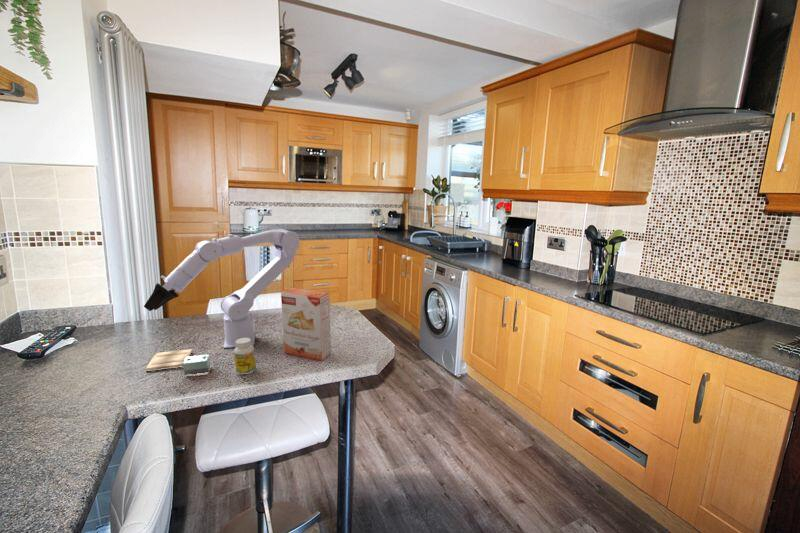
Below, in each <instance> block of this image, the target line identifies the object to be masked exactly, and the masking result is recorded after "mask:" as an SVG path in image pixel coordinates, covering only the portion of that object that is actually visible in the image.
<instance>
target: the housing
mask: <svg viewBox="0 0 800 533" xmlns="http://www.w3.org/2000/svg"><path fill="white" fill-rule="evenodd" d="M210 366H212V365H211V357H210V354H209V353H207V354H206V353H205V354H199V355H191V356H188V357H186V358H185V361H184V363H183V367H184V368H183V375H184V376H185V375H187V374H197V373H205V372H209V373H210V371H209V369H210V370H211V368H210Z"/></svg>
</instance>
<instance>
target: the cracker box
mask: <svg viewBox="0 0 800 533" xmlns="http://www.w3.org/2000/svg"><path fill="white" fill-rule="evenodd" d="M280 295H281V296H280V298H281V299H280V300H281V301H280V302H281V312H282V313H281V315H282V316H281V317H282V331H283V348H284V349H283V350H284V354H287V355H293V356H297V357H302V358H307V359H311V360H315V361H320V362H322V361H323V360H325V359H326V358H327V357H328V356H330V354H331V353H332V350H331V349H332V345H331V312H330V310H331V309H330V308H331V306H330V293H329V292H325V291H318V290H313V289H306V288H305V289H304V288H299V287H290V288H287V289H284V290H283V291H281V292H280Z"/></svg>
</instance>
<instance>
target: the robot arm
mask: <svg viewBox="0 0 800 533" xmlns="http://www.w3.org/2000/svg"><path fill="white" fill-rule="evenodd" d="M267 243H269V244H273V247H274V250H275V256H274V258H273V259H271V260H270V262H269V263H267V264H266V265H265V266H264V267H263V268H262V269H261V270H260V271H259V272H258V273H257V274H256V275H254V277H252V279H250V281H248V283H246V284H245V285H244V286H243V287H242V288H241V289H238V290H235V291H234V292H233V293H231V294H230V295H227V296H225V297H223V299H221V302H220V308H221V311H222V312H223V313H224V315H223V329H224V336H225V337H224V338H225V339H224V343H223V346H222V347H223V349H230V348H231V349H232V348H236V340H238V339H240V338H250V340H251V345H252V346H254V345H255V341H256V328H255V318H254V316H253V315H248V314H249V311H250V310H251V308H252V307H253V306H254V301H255V299H256V298H257V297H258V296H259V295H260V294H261V293H262V292H264V290H265V289H266V288H267V287H269V285H270V284H272V283H273V282H274V280H276V279H277V278H278V277H279V276H280V275H281V274H282V273H283V272H284V271H285V270H286V269H287V268H288V267H289V266H290V265H291V264H292V262H293V261H294V258H295V255H296V252H297V250H298V249H299V248H301V247H300V246H301V245H300V236H299V235H298V233H297V232H295V231H292V230H287V229H285V228H280V227H279V228H275V229H273V228H272V229H269V230H264V231H261V232H257V233H254V234H249V235H247V236H246V235H245V236H242V237H240V236H239V235H236V234H235V235H234V234H232V233H229V234H227V236H225V237H220V238H216V237H214V238H212V239H211V240H210V241H209V240H202V241H200V242H197V243H196V244H195V246H194V250H193V252H191V253H190V254H189V255H188V256H186V258H184V260H182V262H180V263H179V265H177V267H175V268H174V269H173V270H172V271H171V272H170V273H169V274H168V275H167V277H166V276H164V275H161V276H160V278H161V279H162V280H163V281H164V284H160V283H158V282H157V283H156V284H154V285H155V286H154V288H153V292H152V293H151V294H150V296H149V298H148V300H146V302H145V303H144V305H143V307H144V308H145V309H146V310H148V311H149V312H151V311H153V310H154V311H157V310H158V309H160V308H161V307H162V306H164V305H165V304H167V303H169V302H170V301H172V300H173V299H175V298H178V297H179V296H180V295H179V294H178V293H176V292H179V293H182V292H184V290H185V289H186V287H187V286H188V285H189V284H190V283H191V282H192V281H193V280H194V279H195V278H196V277H197V276H198V275H199V274H200V273H201V272H203V270H204V269H205V268H206V267H207V266H208V265H209V264H210V263H211V262H216V261H217V260H219V259H220V257H221V258H222V257H226V256H231V255H234V254H239V253H242V251H243V250H244V248H247V247H252V246H253V247H254V246H256V245H257V246H258V245H262V244H263V245H264V244H267Z"/></svg>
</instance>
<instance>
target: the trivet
mask: <svg viewBox="0 0 800 533" xmlns="http://www.w3.org/2000/svg"><path fill="white" fill-rule="evenodd" d="M191 353H192V354H193V349H192V348H189V349H182V350H181V349H179V350H171V351H162V352H155V353H154V355H153V357H152V358H151V359H150V361H149V363H148V364H147V366H146V367H145V372H146V371H147V370H154V369H161V368H169V367H179V366H183V363H184V361H185V358H186V357H188V356H190V355H191V356H192V354H191Z"/></svg>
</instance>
